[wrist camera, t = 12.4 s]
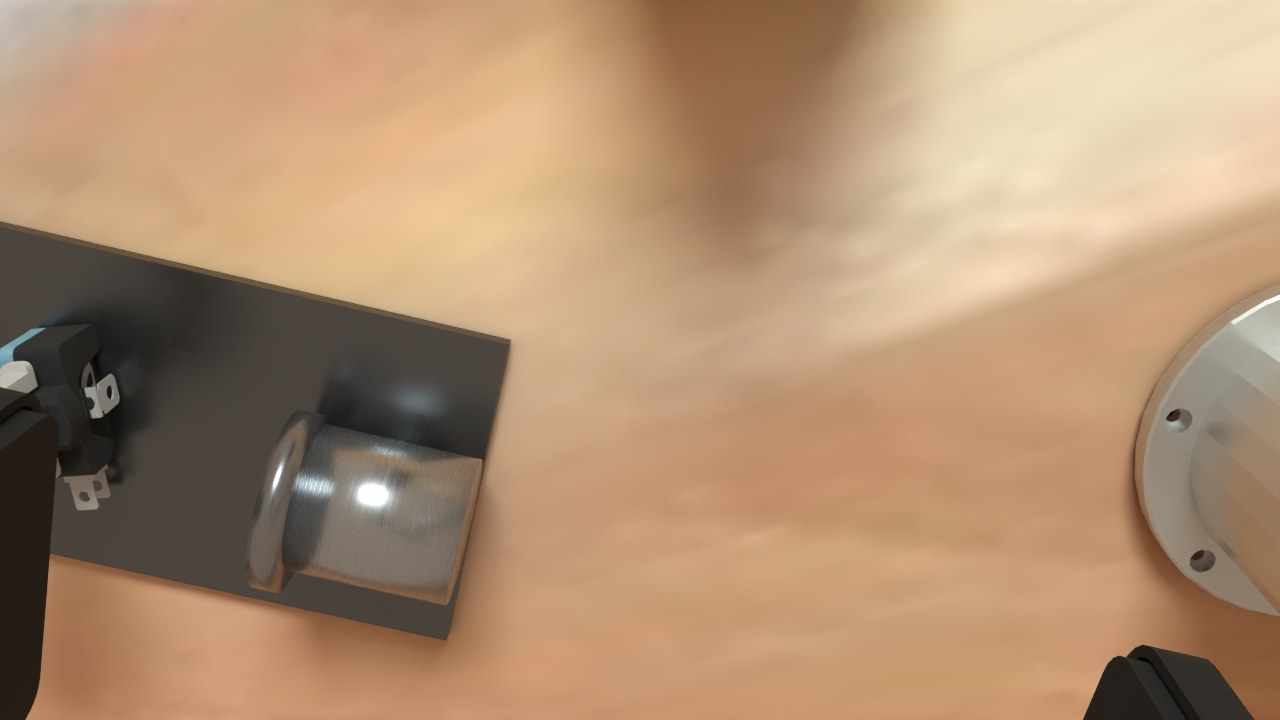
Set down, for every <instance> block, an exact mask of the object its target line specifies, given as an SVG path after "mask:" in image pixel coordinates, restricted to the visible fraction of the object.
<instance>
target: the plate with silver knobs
mask: <svg viewBox="0 0 1280 720" xmlns="http://www.w3.org/2000/svg"><path fill="white" fill-rule="evenodd" d="M82 324H93V325H95V327H96V329H97V332H98V336H99V340H100V348H99V351H98V352H97V353H96V354H95V356H94V357H93V358H94V362H95V366H96V369H97V373H98V377H99V381H101V380H102V379H104V378H105V377H106V376H107V375H109V374H112V375H113V376H114V377H115V380H116V384H117V388H118V392H119V396H120V398H119V403H118V404H117V405H116V406H115V407H114V408H112V409H111V410H110V411H109V412H108V416H109V420H110V424H111V427H112V431H113V435H114V439H115V446H114V449H113V451H112V459H111V461H110V462H109V463H108V464H107V466H108V469H107V470H104V471H105V475H106V478H107V482H108V486H109V490H110V494H111V495H110V496H109V497H108V498H98V499H97V500H98V503H99V507H98V508H97V509H93V510H78V509H76V505H75V502H74V498H73V494H72V491H71V487H70V483H65V481H64V477H57V478H56V480H55V493H54V506H53V519H52V531H51V544H50V554H55V555H60V556H64V557H69V558H73V559H78V560H82V561H87V562H91V563H96V564H101V565H105V566H110V567H114V568H119V569H123V570H128V571H132V572H137V573H142V574H146V575H151V576H155V577H160V578H164V579H169V580H173V581H178V582H183V583H187V584H192V585H196V586H201V587H205V588H210V589H214V590H219V591H224V592H228V593H233V594H237V595H242V596H246V597H251V598H255V599H260V600H265V601H269V602H274V603H278V604H283V605H287V606H292V607H296V608H301V609H306V610H310V611H315V612H319V613H324V614H328V615H333V616H337V617H342V618H347V619H351V620H356V621H360V622H365V623H369V624H374V625H379V626H383V627H388V628H392V629H397V630H401V631H406V632H410V633H415V634H420V635H424V636H429V637H433V638H438V639H442V640H447V638H448V635H449V632H450V627H451V622H452V617H453V613H454V608H455V603H456V598H457V593H458V589H459V584H460V579H461V574H462V570H463V565H464V560H465V555H466V551H467V546H468V541H469V536H470V531H471V527H472V522H473V517H474V512H475V508H476V503H477V498H478V493H479V489H480V484H481V479H482V474H483V470H484V465H485V460H486V455H487V450H488V446H489V441H490V436H491V431H492V427H493V422H494V417H495V412H496V408H497V403H498V398H499V393H500V388H501V384H502V379H503V374H504V369H505V365H506V360H507V355H508V350H509V346H510V341H511V340H509V339H505V338H500V337H496V336H492V335H487V334H483V333H479V332H475V331H470V330H466V329H462V328H457V327H453V326H449V325H444V324H440V323H436V322H431V321H427V320H423V319H418V318H414V317H410V316H406V315H401V314H397V313H393V312H388V311H384V310H380V309H375V308H371V307H367V306H362V305H358V304H354V303H349V302H345V301H341V300H337V299H332V298H328V297H324V296H319V295H315V294H311V293H306V292H302V291H298V290H293V289H289V288H285V287H280V286H276V285H272V284H268V283H263V282H259V281H255V280H250V279H246V278H242V277H237V276H233V275H229V274H224V273H220V272H216V271H211V270H207V269H203V268H199V267H194V266H190V265H186V264H181V263H177V262H173V261H168V260H164V259H160V258H155V257H151V256H147V255H142V254H138V253H134V252H130V251H125V250H121V249H117V248H112V247H108V246H104V245H99V244H95V243H91V242H86V241H82V240H78V239H73V238H69V237H65V236H61V235H56V234H52V233H48V232H43V231H39V230H35V229H30V228H26V227H22V226H17V225H13V224H9V223H4V222H0V349H1V348H2V347H3V346H5V345H7V344H8V343H10V342H12V341H13V340H15V339H17V338H18V337H20V336H22V335H23V334H25V333H27V331H29V330H31V329H38V328H48V327H58V326H70V325H82ZM107 396H108V398H109V399H111V396H112V391H111V388H110V386H108V387H107ZM93 485H94V489H96V490H101V489H102V484H101V483H100V482H99V481H97V480H95V481H93ZM80 498H81V499H82V500H83V501H89V500H90V498H89V497H88V493H87V492H80Z"/></svg>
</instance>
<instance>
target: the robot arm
mask: <svg viewBox="0 0 1280 720" xmlns="http://www.w3.org/2000/svg"><path fill="white" fill-rule="evenodd" d="M1174 410H1175V413H1174V414H1173V415H1172V416H1170V417H1167V416H1168V415H1169V413H1170V412H1172V411H1174ZM58 442H59V427H58V423H57V420H56V419H55V418H54V416H50V415H45V414H42V409H41V405H40V401H39V400H38V398H37V397H36V396H35V395H33V394H29V393H24V392H20V391H15V390H11V389H6V388H2V387H0V720H25V719H26V717H27V716H28V714H29V712H30V710H31V708H32V705H33V703H34V700H35V698H36V694H37V691H38V687H39V681H40V671H41V659H42V646H43V633H44V620H45V608H46V595H47V582H48V569H49V557H50V544H51V531H52V519H53V506H54V493H55V480H56V468H57V455H58ZM1135 482H1136V488H1137V493H1138V498H1139V504H1140V508H1141V510H1142V512H1143V515H1144V517H1145V519H1146V522H1147V524H1148V526H1149V529H1150V531H1151V533H1152V535H1153V536H1154V538H1155V539H1156V540H1157V542H1158V543H1159V545H1160V546H1161V547H1162V549H1163V550H1164V552H1165V553H1166V554H1167V556H1168V557H1169V558H1170V560H1171V561H1172V562H1173V563H1174V564H1175V565H1176V566H1177V568H1178V569H1179V570H1180V571H1181V572H1182V573H1183V574H1184V575H1185V576H1186V577H1187V578H1188V579H1189V580H1191V581H1192V582H1194V583H1195V584H1196V585H1198V586H1199V587H1201V588H1202V589H1204V590H1205V591H1206V592H1208V593H1209V594H1211V595H1212V596H1214V597H1216V598H1218V599H1220V600H1222V601H1225V602H1227V603H1229V604H1232V605H1234V606H1236V607H1239V608H1241V609H1243V610H1248V611H1252V612H1257V613H1261V614H1265V615H1270V616H1274V617H1280V284H1277V285H1274V286H1271V287H1269V288H1267V289H1265V290H1263V291H1261V292H1259V293H1257V294H1255V295H1253V296H1251V297H1249V298H1247V299H1245V300H1243V301H1241V302H1239V303H1237V304H1235V305H1234V306H1232V307H1231V308H1230V309H1228V310H1227V311H1225V312H1224V313H1223V314H1221V315H1220V316H1218V317H1217V318H1216V319H1214V320H1213V321H1211V322H1210V323H1209V324H1207V325H1206V326H1205V327H1204V328H1203V329H1202V330H1201V331H1200V332H1199V333H1198V334H1197V335H1196V336H1195V337H1194V338H1193V339H1192V340H1191V341H1190V342H1189V343H1188V344H1187V345H1186V346H1185V347H1184V348H1183V349H1182V350H1181V351H1180V352H1179V353H1178V354H1177V356H1176V357H1175V359H1174V360H1173V361H1172V363H1171V364H1170V366H1169V367H1168V369H1167V370H1166V371H1165V373H1164V374H1163V376H1162V377H1161V379H1160V380H1159V381H1158V383H1157V385H1156V387H1155V390H1154V392H1153V394H1152V396H1151V398H1150V400H1149V403H1148V405H1147V407H1146V409H1145V411H1144V413H1143V417H1142V422H1141V426H1140V430H1139V434H1138V438H1137V442H1136V449H1135ZM1083 720H1254V718H1253V717H1252V716H1251V714H1250V713H1249V712H1248V710H1247V709H1246V708H1245V706H1244V705H1243V703H1242V702H1241V701H1240V699H1239V698H1238V697H1237V695H1236V694H1235V693H1234V691H1233V690H1232V688H1231V687H1230V686H1229V684H1228V683H1227V682H1226V680H1225V679H1224V678H1223V676H1222V675H1221V673H1220V672H1219V671H1218V669H1217V668H1216V667H1215V666H1214V665H1213V664H1212V663H1211V662H1210V661H1209V660H1208V659H1204V658H1199V657H1195V656H1191V655H1186V654H1182V653H1177V652H1173V651H1168V650H1164V649H1159V648H1155V647H1151V646H1146V645H1141V646H1138V647H1136V648H1135V649H1134V650H1133V651H1132V652H1131V653H1130V654H1129V655H1128V656H1127V658H1126V657H1122V656H1117V657H1115V658H1113V659H1112V660H1111V661H1110V662H1109V663H1108V664H1107V666H1106V668H1105V670H1104V672H1103V674H1102V677H1101V679H1100V681H1099V684H1098V686H1097V688H1096V691H1095V693H1094V695H1093V698H1092V700H1091V702H1090V705H1089V707H1088V709H1087V712H1086V714H1085V716H1084V719H1083Z"/></svg>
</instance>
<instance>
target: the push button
mask: <svg viewBox="0 0 1280 720" xmlns="http://www.w3.org/2000/svg"><path fill="white" fill-rule="evenodd" d="M99 348H100V340H99V336H98V332H97V329H96V327H95V325H93V324H82V325H70V326H58V327H48V328H38V329H31V330H29V331H27V333H25V334H23V335H22V336H20V337H18V338H17V339H15V340H13V341H12V342H10V343H8V344H7V345H5V346H3V347H2V348H1V349H0V387H2V388H6V389H11V390H15V391H20V392H24V393H29V394H33V395H35V396H36V397H37V398H38V400H39V401H40V405H41V409H42V414H45V415H50V416H54V418H55V419H56V420H57V423H58V427H59V442H58V455H57V468H56V478H57V477H64V481H65V483H70V487H71V491H72V494H73V498H74V502H75V505H76V509H78V510H93V509H97V508H98V507H99V503H98V500H97V499H98V498H108V497H109V496H110V495H111V494H110V490H109V486H108V482H107V478H106V475H105V471H104V470H107V469H108V466H107V464H108V463H109V462H110V461H111V459H112V451H113V449H114V446H115V439H114V435H113V431H112V427H111V424H110V420H109V416H108V412H109V411H110V410H111V409H112V408H114V407H115V406H116V405H117V404H118V403H119V398H120V396H119V392H118V388H117V384H116V380H115V377H114V376H113V375H112V374H109V375H107V376H106V377H105V378H104V379H102V380H101V381H99V377H98V373H97V369H96V366H95V362H94V358H93V357H94V356H95V354H96V353H97V352H98V351H99ZM108 386H110V388H111V391H112V396H111V399H109V398H108V396H107V387H108ZM95 480H97V481H99V482H100V483H101V484H102V489H101V490H96V489H94V485H93V481H95ZM80 492H87V493H88V497H89V498H90V500H89V501H83V500H82V499H81V498H80Z"/></svg>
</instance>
